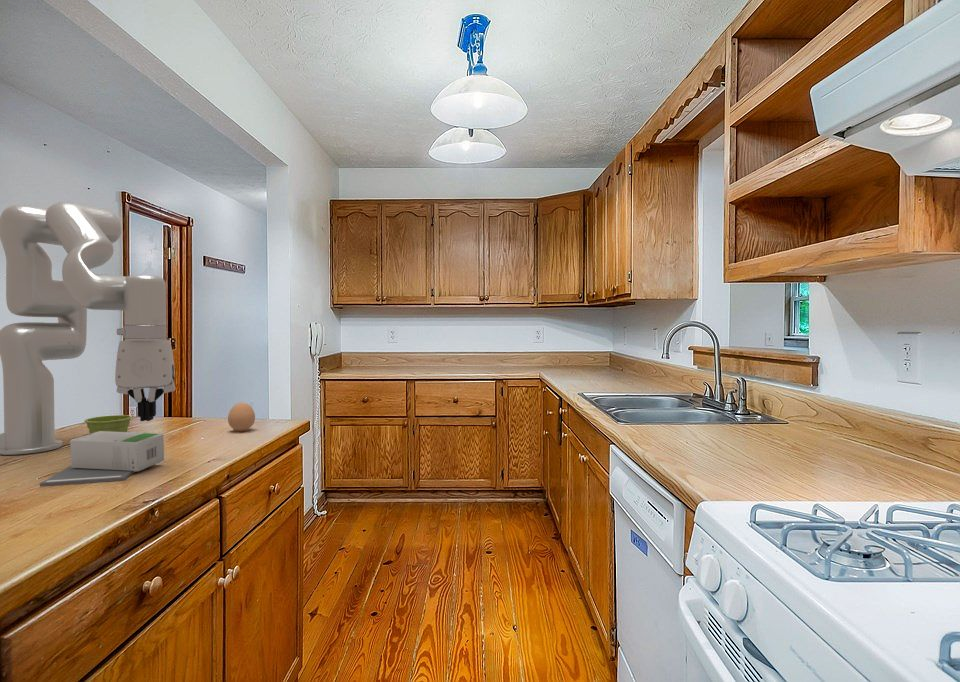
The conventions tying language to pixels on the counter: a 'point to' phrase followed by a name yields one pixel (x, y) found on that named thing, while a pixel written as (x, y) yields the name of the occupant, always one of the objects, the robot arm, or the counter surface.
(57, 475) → the mat
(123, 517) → the counter surface
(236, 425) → the egg
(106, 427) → the plant pot
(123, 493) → the counter surface
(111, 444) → the skincare box
